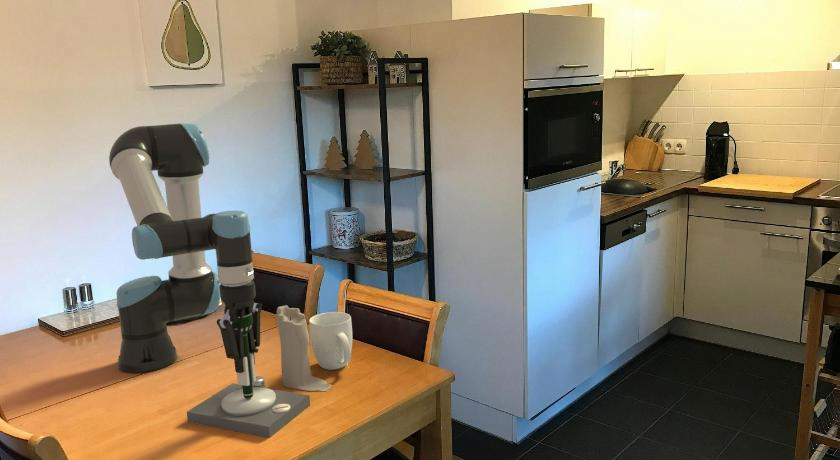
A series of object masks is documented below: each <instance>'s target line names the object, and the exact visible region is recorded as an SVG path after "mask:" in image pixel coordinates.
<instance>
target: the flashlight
mask: <svg viewBox="0 0 840 460" xmlns="http://www.w3.org/2000/svg"><path fill="white" fill-rule="evenodd" d="M240 319H241V322H242V327H243V328H242V329H241V331H242V332H243V339H244V357H247V362H248V372H249V382H250V385H248V386H245V385H242V387H243V396H244V398H251V397H252V396H253V386H252V376H251V366H250V355H249V345H248V335H247V333H248V332H249V330H250V328H251V326H252V323H253V317H252V312H250V313H249V314H246V315H243V317H242V318H240V316H238V322H237V323H232V324H231V325H232V327H233V329H235V330H237V329H238V328H239V327H240Z"/></svg>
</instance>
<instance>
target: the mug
mask: <svg viewBox="0 0 840 460" xmlns="http://www.w3.org/2000/svg"><path fill="white" fill-rule="evenodd" d="M308 320H309V338H310V343H311V350H312V351H313V356H314V358H315V360H316V362H317V364H318V365H319V366H320V367H321V368H322V369H324V370H329V371H331V370H334V371H335V370H339V369H342V368H344V367H346V365H347V364H349V363H350V362H351V360H352V349H353V327H352V326H353V324H352V316H351V315H350V314H349V313H346V312H341V311H329V312H323V313H318V314H315V315H313V316H312V317H310V318H309V319H308Z"/></svg>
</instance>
